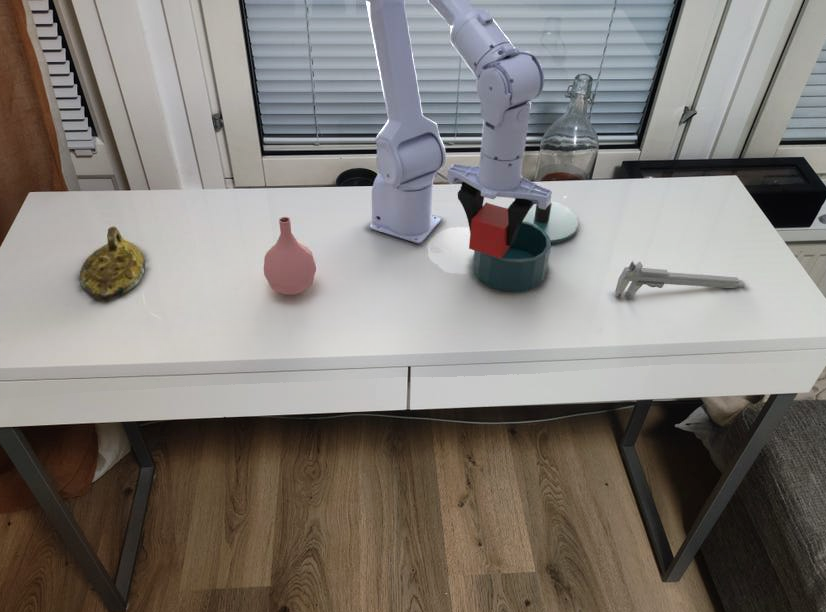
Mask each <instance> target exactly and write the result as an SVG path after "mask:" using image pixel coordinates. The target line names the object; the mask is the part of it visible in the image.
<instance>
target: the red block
mask: <svg viewBox="0 0 826 612" xmlns="http://www.w3.org/2000/svg"><path fill="white" fill-rule="evenodd" d="M507 231H508V207H507V208H506V207H502V206H499V205H496V204H493V203H489V202H485V203H483V207H482V208H481V209H480V210H479V211H478V213H477V214H476V215H475V216H474V217H473V218H472V222H471V233H470V232H469V233H470V234H469V236H470V237H469V243H468V244H469V245H468V249H469V250H472V251H474V250H475V251H478V252H481V253H485V254H488V255H491V256H494V257H497V258H500V259H501V258H502V257H503V255H504V254H505V253H506V251H507V250H508V248H509V247H510V246H508V245H506V237H507Z"/></svg>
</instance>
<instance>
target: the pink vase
mask: <svg viewBox="0 0 826 612" xmlns="http://www.w3.org/2000/svg"><path fill="white" fill-rule="evenodd" d="M278 223H279V230H280V234H279V236H278V238H277V240H276V243H275V244H274V245H272V247H270V249H269V250H267V252H266V253H265V255H264V258H263V276H264V277H265V280H266V281H267V283H268V285H269V286H270V288H271V290H273V291H274V292H277V293H279V294H283V295H296V294H301V293H303V292H305V291H307V290H308V289H309V288H311V286H312V284H313V281H314V279H315V275H316V272H317V265H316V262H315V258H314V255H313V252H312V250H311V249H310V248H309V247H308V246H306V245H304V244H303V243H301V242H299V241H298V239H297V238H296V237H295V235H294V234H293V233H292V226H291V225H292V223H291V218H290V217H288V216H282V217H280V218H278Z"/></svg>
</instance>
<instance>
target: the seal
mask: <svg viewBox="0 0 826 612" xmlns="http://www.w3.org/2000/svg"><path fill="white" fill-rule="evenodd" d="M106 239H107V243H106V244H104V245H103V246H101V247H99V248H98V249H96V250H94V251H93V252H92V253H91V254H90V255H89V256H88V257H87V258H86V259H85V261H84V262H83V265H82V266H81V269H80V271H79V282H80V286H81V287H82V288H83V290H84V291H85V292H86V293H87V294H88V295H89V296H90V297H92V298H94V299H95V300H97V301H98V300H99V301H103V302H105V301H108V300H110V299H111V298H113V297H117V296H118V295H125V294H127V293H128V292H130V291H131V290H132V289H134V288H136V286H137V285H138V284H139V283H140V282H141V280H142V279H143V276H144V274H145V267H146V264H145V263H146V262H145V261H146V260H145V257H144V255H143V252H142V250H140V248H138V247H137V246H136V245H135V244H133V243H132V242H130V241H129V240H126V239H125V238H124V237H123V236H122V235H121V232H120V230H119V229H118V227H116V226H113V225H112V226H110V227H109V228H108V229H107V234H106Z"/></svg>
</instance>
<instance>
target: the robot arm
mask: <svg viewBox="0 0 826 612" xmlns="http://www.w3.org/2000/svg"><path fill="white" fill-rule="evenodd" d="M364 1H365V3H366V8H367V14H368V19H369V25H370V30H371V35H372V41H373V46H374V52H375V57H376V62H377V67H378V68H377V69H378V72H379V79H380V83H381V89H382V94H383V95H382V96H383V99H384V105H385V110H386V116H387V121H386V123H385V125H384V126H383V127H382V128H381V129H380V131H379V132H378V134H377V135H376V137H375V144H376V157H375V165H376V168H377V172H378V173H377V174H376V177H375V178H374V180H373V184H372V188H371V224H370V225H369V228H370V229H371V230H372V231H373V230H374V231H377V232H380V233H383V234H386V235H389V236H393V237H395V238H400V239H403V240H406V241H408V242H411V243H412V242H413V243H415V244H419V245H420V244H422V243H423V242H424V241H425V239H426V238H428V236H430V234H431V233H432V231H433V230H434V229H435V228H436V227H437V226H439V223H440V222H441V219H442V218H441V217H438V216H436V215H433V194H434V180H435V179H437V178H438V171H441V170H442V169H443V168H444V166H445V165H446V164H445V163H446V161H447V160H446V159H447V152H446V151H447V150H446V147H445V144H444V143H443V140H442V138H441V135H440V131H439V127H438V124H437V123H436V122H435V121H434V120H432V119H430V118H428V117H426V116H424V115H423V108H422V103H421V96H420V92H419V91H420V90H419V86H418V78H417V71H416V66H415V60H414V55H413V48H412V42H411V37H410V35H411V34H410V31H409V25H408V18H407V13H406V6H405V4H406V0H364ZM426 1H427V2H428V4H430V5H431V7H432V8H433V9H434V10H435V11H436V12H437V13H438V14H439V15H440V16H441V18H442V19H443V20H444V21H445V22H446V24H447V25H448V26H449V27H450V32H449V41H450V44H451V45H452V47H453V48H454V49H455V52H457V53H458V55H459V56H460V57H461V59H462V60H463V61H464V63H465V64H466V66H467V68H469V69H470V71H471V72H472V74H473V75H474V77H476V81H475V82H476V83H475V86H476V92H477V96H478V98H479V102H480V112H479V114H480V115H481V119H482V120H483V122H482V130H481V131H482V132H481V142H480V143H481V144H480V152H479V163H478V166H474V165H463V164H459V163H458V164H457V163H453V164H451V166H449V168H448V169H447V175H446V182H448V183H450V184H455V183H460V184H461V186H460V188H459V190H458V192H457V199H458V201H459V202H460V204H461V206H462V209H463V210H464V213H465V216H466V219H467V223H468V226H469V233H471V222H472V218H473V217H474V216H475V215H476V214H477V213H478V211H479V210H480V209H481V208H482V207H483V205H484V201H485V198H486V199H490V200H495V199H496V198H497V197H498V198H508V199H509V198H510V199H514V200H513V201H512V203H511V204H510V205H509V206H508V207H507V209H508V231H507V237H506V245H508V246H511V245H512V244H513V242H514V241H515V240H516V236H517V233H518V231H519V228H520V226H521V224H522V222H523V220H524V218H525V216H526V215H527V213H528V212H529V210H530V209H531V207H532V206H533V204H537V205H538V208H541V209H544V210H545V209H546V208H547V207H548V205H549V204H550V201H551V200H552V194H553V190H551V189H548V188H545V187H543V186H541V185H539V184H537V183H535V182H533V181H532V180H530V179H528V178H526V177H523V176H522V172H523V164H524V157H525V151H526V144H527V137H528V136H527V135H528V130H529V129H528V128H529V121H530V114H531V107H532V101H533V100H535V99H537V98H539V96H540V95H541V94H542V92H543V91H544V85H545V73H544V69H543V66H542V65H541V63H540V61H539V60H538V57H537V55H535V54H534V53H533V52H531V51H528V50H522V48H521V47H520V46H514V44H513V43H512V41H510V39H509V38H508V36H507V35H506V34H505V32H503V30H502V29H501V28H500V26H499V25H498V23H497V22H496V20H494V17H493V16H492V14H491V12H489V11H487V10H486V9H484V8H473V7H472V5H471V3H470V2H469V0H426Z"/></svg>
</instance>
